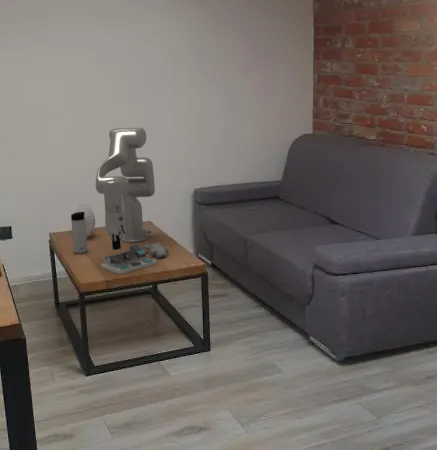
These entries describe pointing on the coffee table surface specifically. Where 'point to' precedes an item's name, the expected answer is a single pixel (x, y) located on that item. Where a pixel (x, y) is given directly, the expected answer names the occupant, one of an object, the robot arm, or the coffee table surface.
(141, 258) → the switch unit
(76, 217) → the travel mug
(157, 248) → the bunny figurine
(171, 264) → the coffee table surface
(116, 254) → the rocker
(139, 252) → the rocker nearest
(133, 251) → the rocker middle
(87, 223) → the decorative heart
